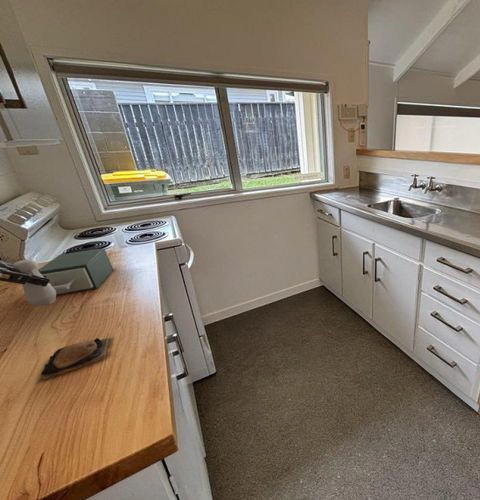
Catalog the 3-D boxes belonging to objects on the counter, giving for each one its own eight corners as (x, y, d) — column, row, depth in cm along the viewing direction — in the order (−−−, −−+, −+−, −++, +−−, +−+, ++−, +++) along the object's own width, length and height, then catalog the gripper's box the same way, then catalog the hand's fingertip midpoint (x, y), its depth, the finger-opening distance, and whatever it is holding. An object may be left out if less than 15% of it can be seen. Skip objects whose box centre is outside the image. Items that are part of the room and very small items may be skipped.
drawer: (83, 296, 86) (74, 277, 83) (34, 306, 82) (23, 285, 80) (108, 270, 103) (100, 253, 100) (68, 276, 99) (59, 259, 96)
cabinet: (96, 288, 92) (85, 264, 89) (47, 297, 88) (33, 272, 85) (113, 269, 105) (104, 248, 102) (71, 276, 101) (60, 254, 98)
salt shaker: (25, 306, 77) (1, 264, 72) (51, 295, 82) (30, 255, 77) (38, 310, 76) (14, 267, 71) (64, 299, 81) (43, 257, 75)
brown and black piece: (110, 339, 69) (104, 326, 67) (105, 360, 62) (98, 347, 61) (51, 357, 64) (43, 344, 62) (39, 382, 57) (30, 368, 56)
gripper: (-37, 248, 61) (62, 275, 75) (-43, 237, 69) (48, 263, 83) (-63, 280, 60) (43, 301, 74) (-66, 264, 67) (31, 286, 81)
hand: (45, 281), depth 78 cm, fingers closed on salt shaker, 3 cm apart
